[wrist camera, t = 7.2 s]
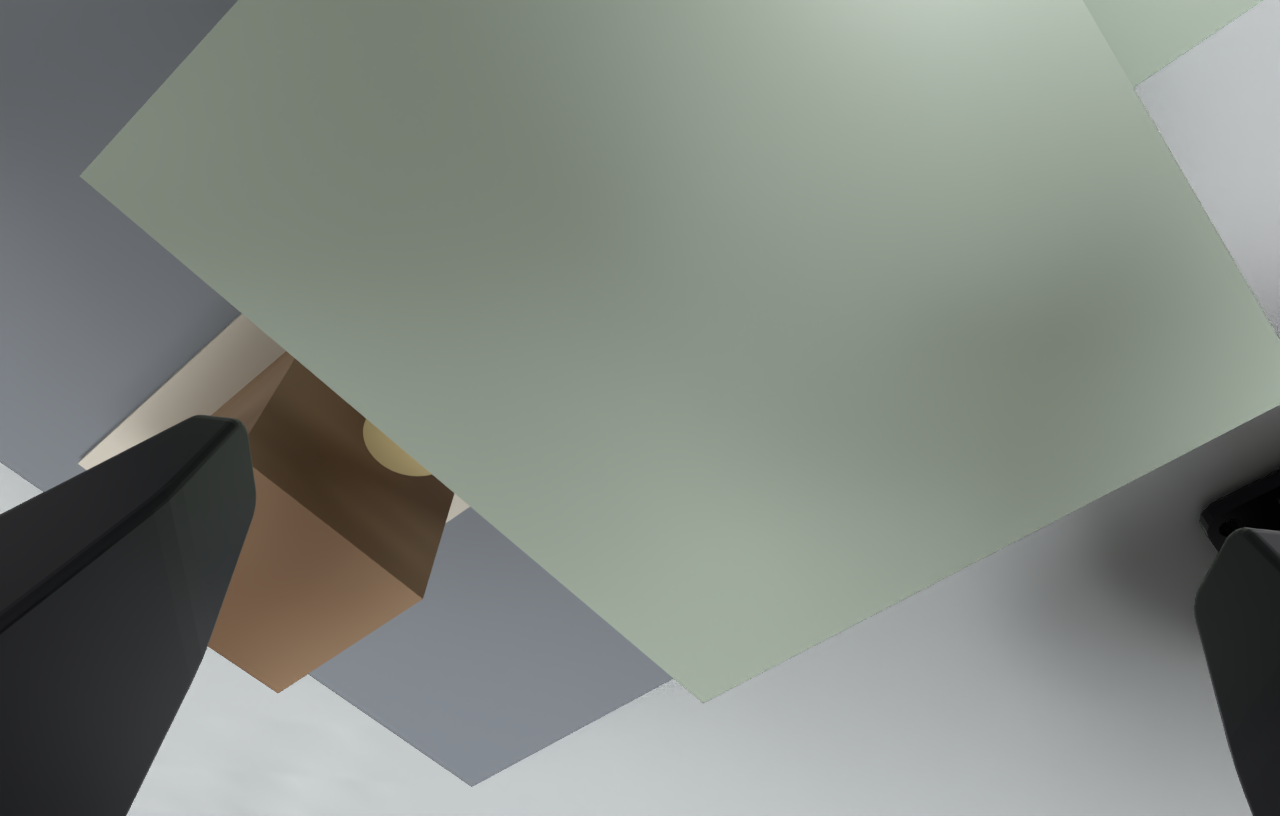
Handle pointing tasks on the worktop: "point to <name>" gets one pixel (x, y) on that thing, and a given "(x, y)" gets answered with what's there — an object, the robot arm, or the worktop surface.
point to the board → (217, 370)
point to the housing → (721, 277)
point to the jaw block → (320, 531)
